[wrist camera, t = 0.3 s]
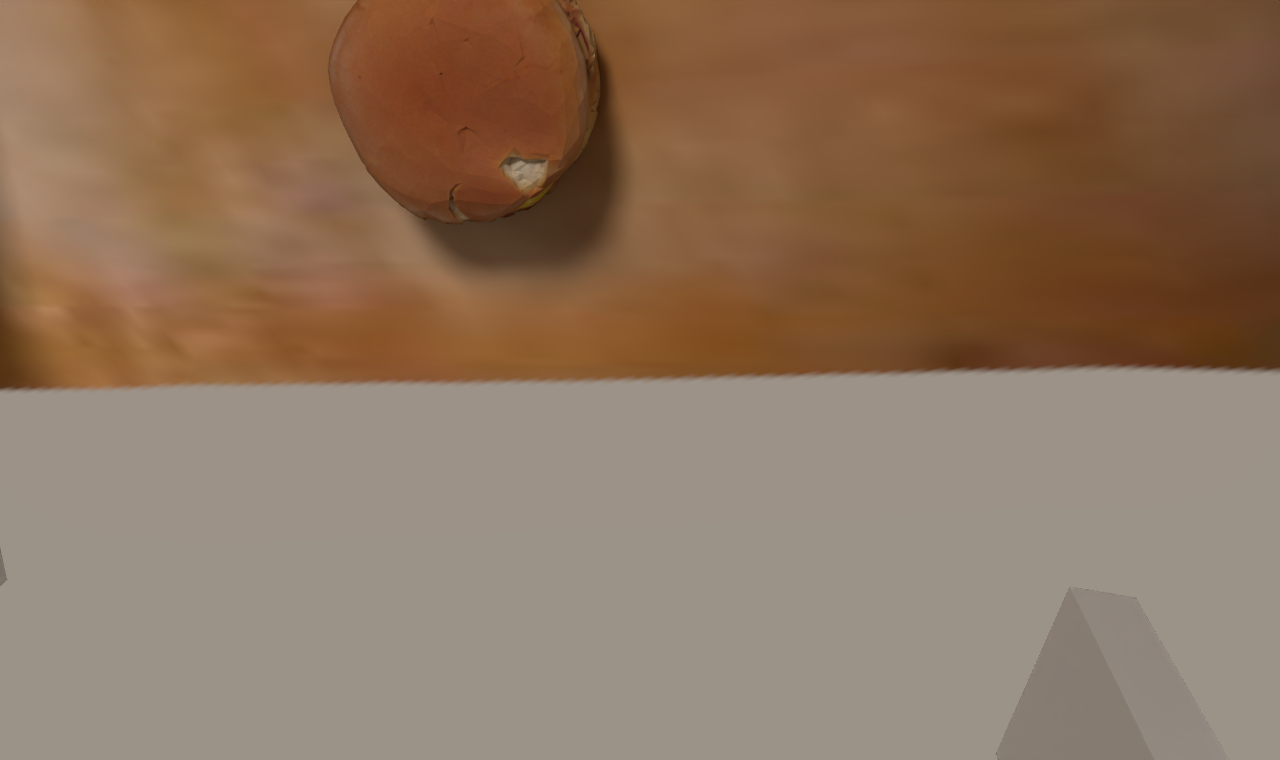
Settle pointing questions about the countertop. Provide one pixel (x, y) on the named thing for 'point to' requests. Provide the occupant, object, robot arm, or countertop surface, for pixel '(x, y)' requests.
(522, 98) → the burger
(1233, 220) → the countertop surface
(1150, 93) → the countertop surface
